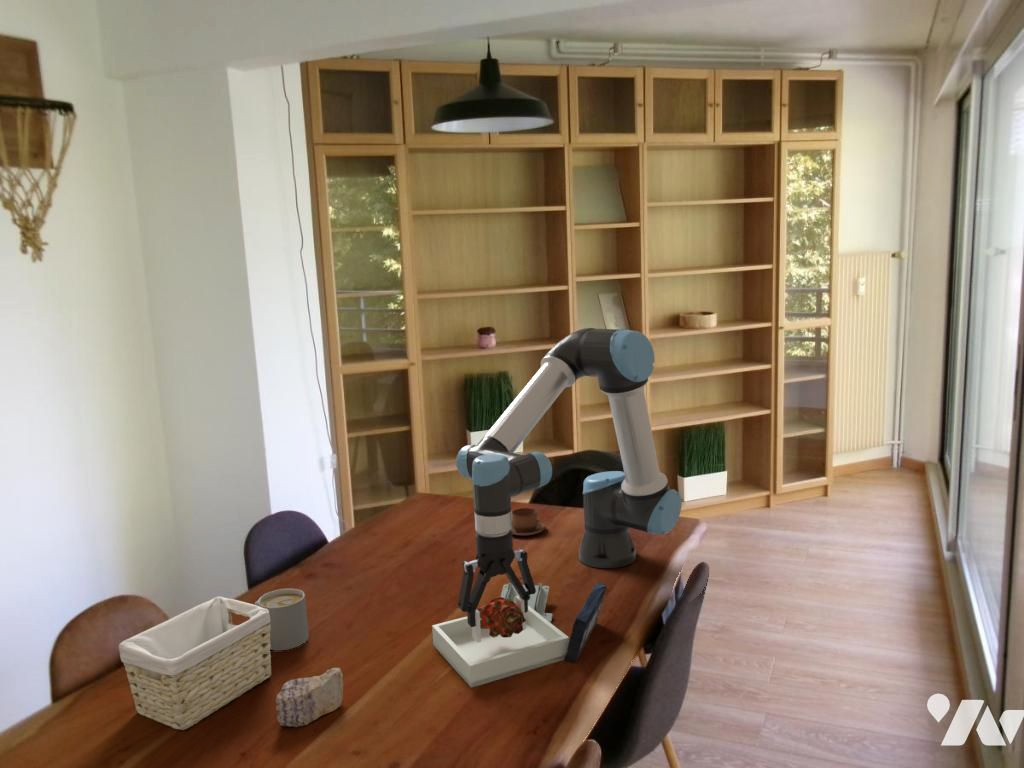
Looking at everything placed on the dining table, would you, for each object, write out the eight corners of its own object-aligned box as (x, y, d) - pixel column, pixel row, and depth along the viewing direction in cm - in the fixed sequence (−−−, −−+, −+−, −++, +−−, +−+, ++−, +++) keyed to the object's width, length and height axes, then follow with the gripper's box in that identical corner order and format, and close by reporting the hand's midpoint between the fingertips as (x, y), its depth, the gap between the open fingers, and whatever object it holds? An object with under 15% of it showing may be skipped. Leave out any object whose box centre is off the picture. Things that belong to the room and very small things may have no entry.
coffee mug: (317, 637, 182) (314, 595, 180) (279, 656, 174) (275, 611, 173) (281, 622, 190) (277, 581, 189) (244, 639, 183) (239, 596, 181)
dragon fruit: (524, 651, 167) (480, 644, 175) (540, 614, 172) (497, 609, 180) (503, 628, 163) (459, 622, 170) (520, 591, 168) (477, 586, 175)
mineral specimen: (326, 690, 160) (323, 657, 159) (350, 703, 155) (348, 670, 154) (263, 721, 150) (259, 687, 149) (287, 737, 145) (283, 702, 144)
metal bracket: (495, 575, 198) (557, 577, 195) (498, 594, 200) (559, 597, 197) (483, 617, 185) (549, 620, 182) (486, 636, 188) (551, 640, 185)
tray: (524, 620, 186) (523, 601, 185) (569, 658, 168) (568, 637, 167) (433, 645, 176) (432, 625, 175) (471, 687, 158) (469, 666, 158)
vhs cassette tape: (575, 665, 166) (586, 622, 163) (561, 660, 167) (572, 617, 164) (598, 625, 183) (609, 586, 180) (586, 621, 184) (596, 581, 181)
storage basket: (178, 739, 146) (169, 662, 144) (123, 715, 155) (113, 642, 152) (280, 676, 166) (273, 608, 164) (226, 658, 175) (219, 593, 172)
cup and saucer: (508, 524, 250) (507, 505, 249) (547, 525, 248) (547, 505, 247) (501, 538, 238) (500, 518, 237) (542, 539, 236) (542, 518, 235)
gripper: (533, 515, 176) (537, 613, 180) (436, 536, 166) (442, 639, 170) (550, 525, 169) (554, 627, 173) (450, 547, 160) (457, 654, 163)
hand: (499, 633), depth 171 cm, fingers closed on dragon fruit, 9 cm apart
